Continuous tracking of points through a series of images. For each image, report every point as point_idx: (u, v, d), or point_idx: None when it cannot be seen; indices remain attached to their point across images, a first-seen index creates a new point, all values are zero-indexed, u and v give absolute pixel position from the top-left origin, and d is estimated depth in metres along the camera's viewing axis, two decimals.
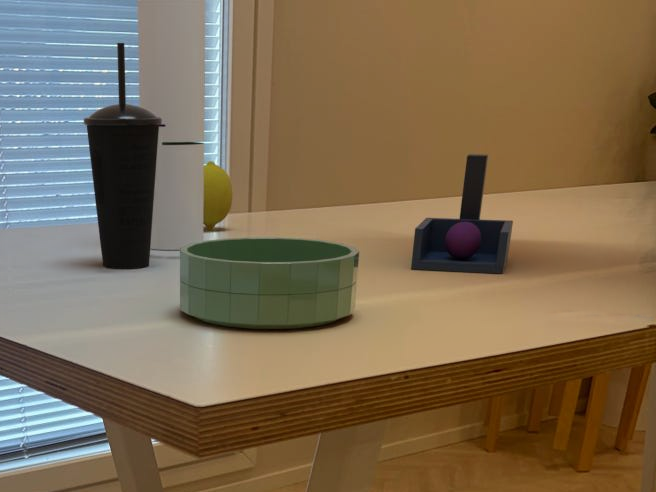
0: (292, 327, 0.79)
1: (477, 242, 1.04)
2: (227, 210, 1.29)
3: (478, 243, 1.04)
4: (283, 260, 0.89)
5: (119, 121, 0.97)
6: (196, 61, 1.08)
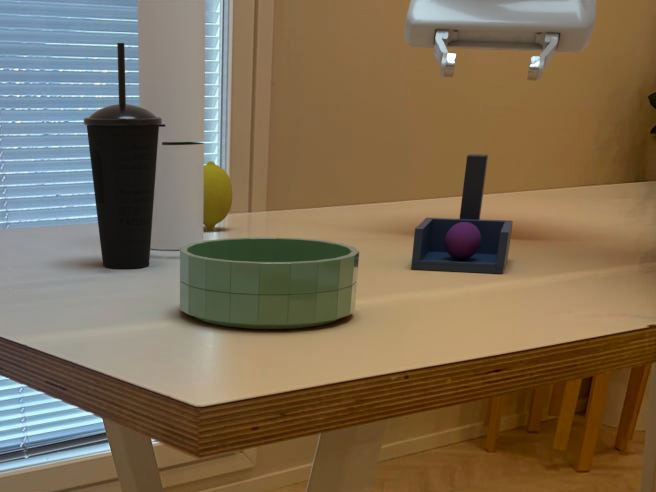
0: (292, 327, 0.79)
1: (476, 245, 1.04)
2: (227, 210, 1.29)
3: (478, 245, 1.04)
4: (283, 260, 0.89)
5: (119, 121, 0.97)
6: (196, 61, 1.08)
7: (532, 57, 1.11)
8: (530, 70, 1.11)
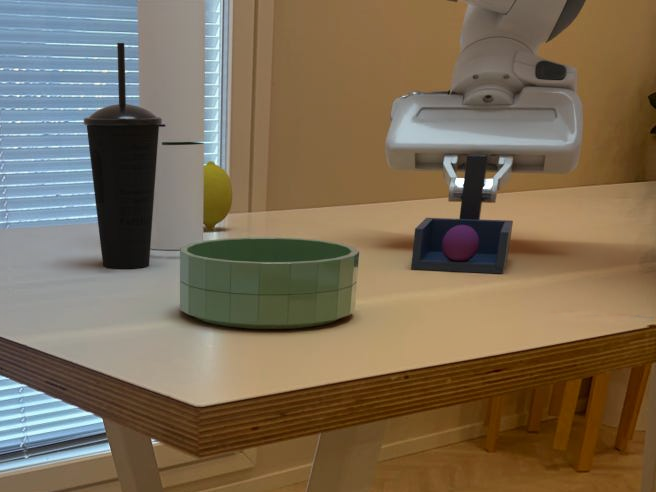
0: (292, 327, 0.79)
1: None
2: (227, 210, 1.29)
3: None
4: (283, 260, 0.89)
5: (119, 121, 0.97)
6: (196, 61, 1.08)
7: (485, 180, 1.07)
8: (483, 193, 1.07)
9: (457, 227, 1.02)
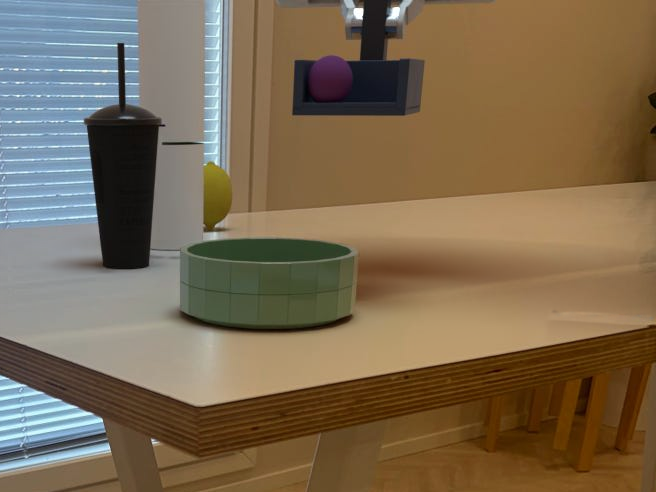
0: (292, 327, 0.79)
1: (350, 69, 0.81)
2: (227, 210, 1.29)
3: (349, 66, 0.81)
4: (283, 260, 0.89)
5: (119, 121, 0.97)
6: (196, 61, 1.08)
7: (389, 9, 0.86)
8: (386, 25, 0.86)
9: None
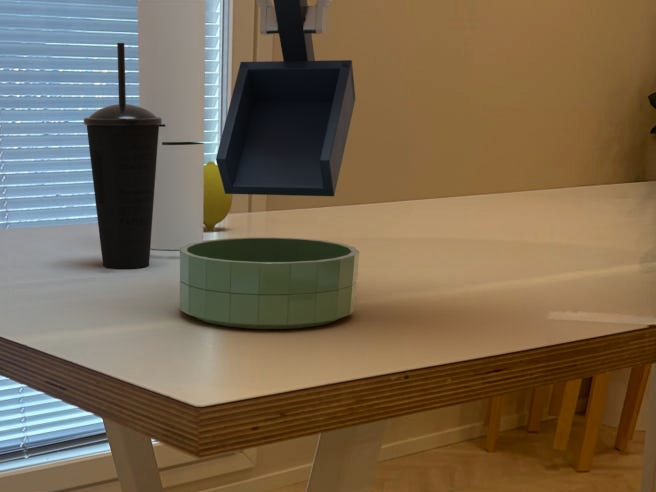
0: (292, 327, 0.79)
1: None
2: (227, 210, 1.29)
3: None
4: (283, 260, 0.89)
5: (119, 121, 0.97)
6: (196, 61, 1.08)
7: (305, 8, 0.77)
8: (305, 31, 0.78)
9: None
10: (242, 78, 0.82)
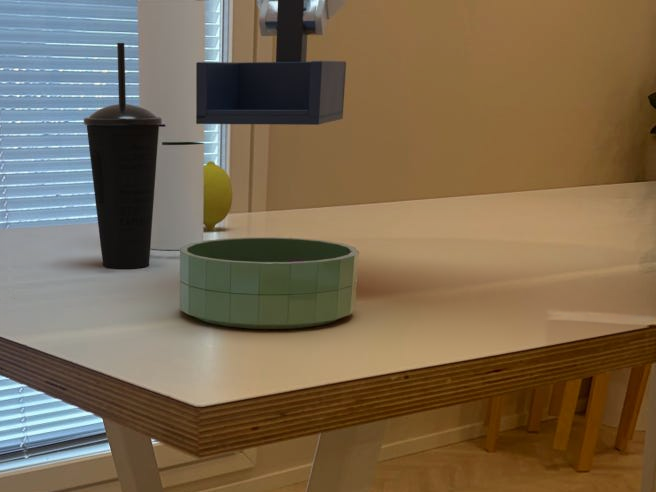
0: (292, 327, 0.79)
1: None
2: (227, 210, 1.29)
3: None
4: (283, 260, 0.89)
5: (119, 121, 0.97)
6: (196, 61, 1.08)
7: (307, 1, 0.78)
8: (304, 19, 0.77)
9: None
10: (232, 62, 0.79)
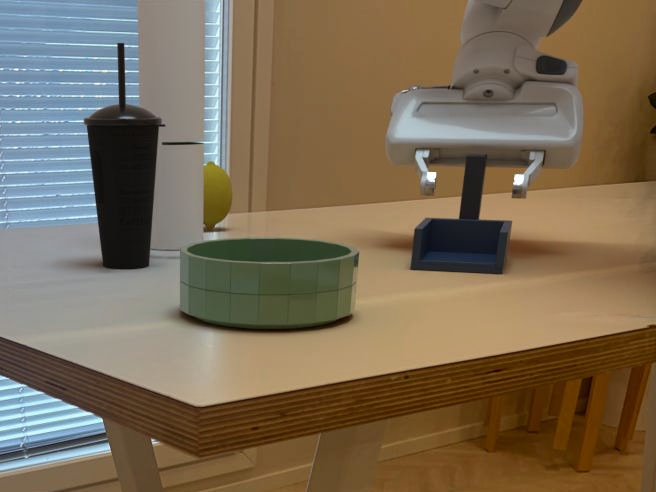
0: (292, 327, 0.79)
1: None
2: (227, 210, 1.29)
3: None
4: (283, 260, 0.89)
5: (119, 121, 0.97)
6: (196, 61, 1.08)
7: (516, 175, 1.06)
8: (513, 188, 1.06)
9: None
10: (428, 219, 1.09)
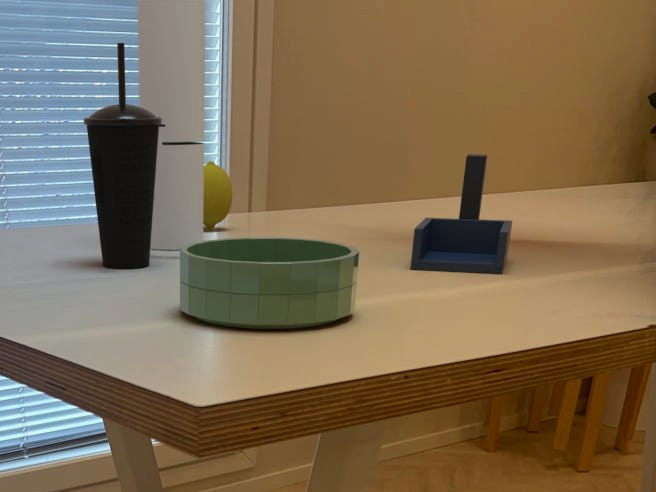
0: (292, 327, 0.79)
1: None
2: (227, 210, 1.29)
3: None
4: (283, 260, 0.89)
5: (119, 121, 0.97)
6: (196, 61, 1.08)
7: None
8: None
9: None
10: (428, 219, 1.09)
